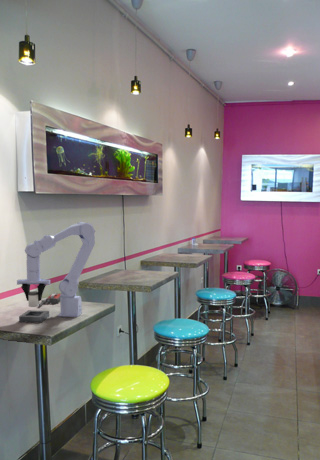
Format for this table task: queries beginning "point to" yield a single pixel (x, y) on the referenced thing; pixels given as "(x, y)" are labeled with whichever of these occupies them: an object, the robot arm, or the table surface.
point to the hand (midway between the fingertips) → (34, 300)
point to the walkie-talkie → (51, 299)
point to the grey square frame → (34, 316)
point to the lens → (33, 299)
